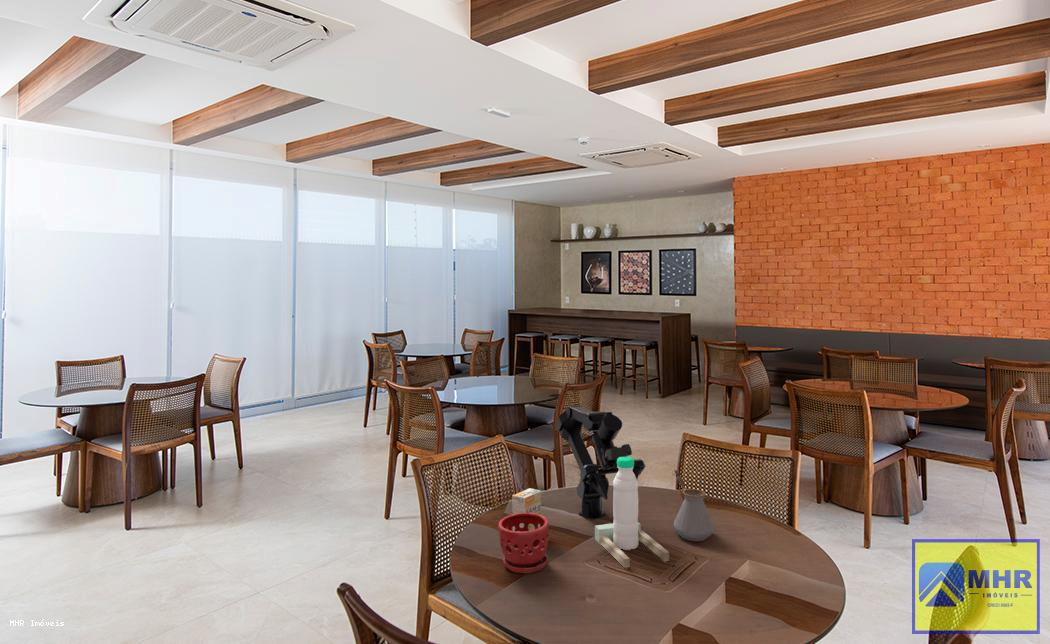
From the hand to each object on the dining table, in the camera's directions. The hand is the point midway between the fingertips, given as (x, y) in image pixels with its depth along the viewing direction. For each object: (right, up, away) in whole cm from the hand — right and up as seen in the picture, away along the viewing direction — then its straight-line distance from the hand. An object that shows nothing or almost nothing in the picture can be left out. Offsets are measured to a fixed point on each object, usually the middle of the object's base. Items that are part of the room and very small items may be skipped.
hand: (621, 497), depth 170 cm
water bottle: (+1, -13, -2) cm, 13 cm away
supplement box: (-27, -13, +5) cm, 30 cm away
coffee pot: (+21, -12, +9) cm, 26 cm away
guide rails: (+2, -13, -6) cm, 15 cm away
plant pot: (-28, -14, -13) cm, 34 cm away
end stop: (-1, -13, +3) cm, 13 cm away
